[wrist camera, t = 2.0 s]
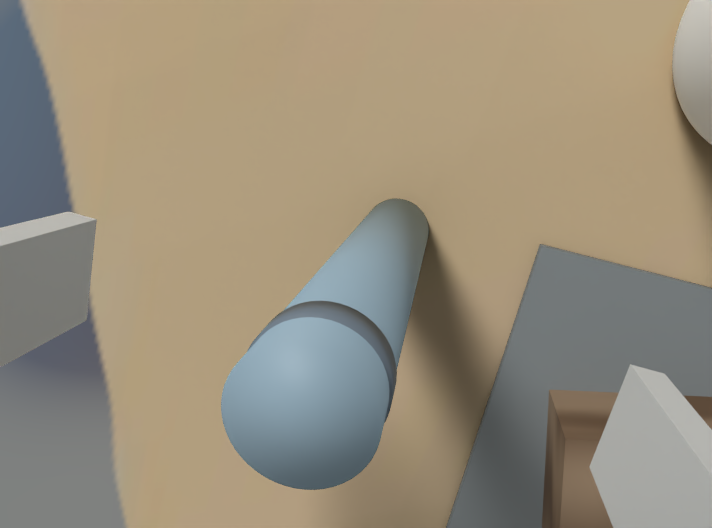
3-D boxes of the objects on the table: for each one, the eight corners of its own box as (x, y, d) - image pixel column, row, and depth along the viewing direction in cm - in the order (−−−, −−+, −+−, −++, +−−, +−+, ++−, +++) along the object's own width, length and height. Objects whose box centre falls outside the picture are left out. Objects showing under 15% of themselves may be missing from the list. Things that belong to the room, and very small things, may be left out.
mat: (540, 244, 24) (541, 246, 24) (1000, 361, 22) (1010, 366, 22) (420, 604, 30) (419, 611, 29) (778, 722, 28) (782, 730, 27)
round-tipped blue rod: (372, 190, 25) (233, 316, 9) (437, 206, 24) (403, 365, 9) (357, 253, 25) (206, 463, 10) (420, 270, 25) (363, 513, 10)
